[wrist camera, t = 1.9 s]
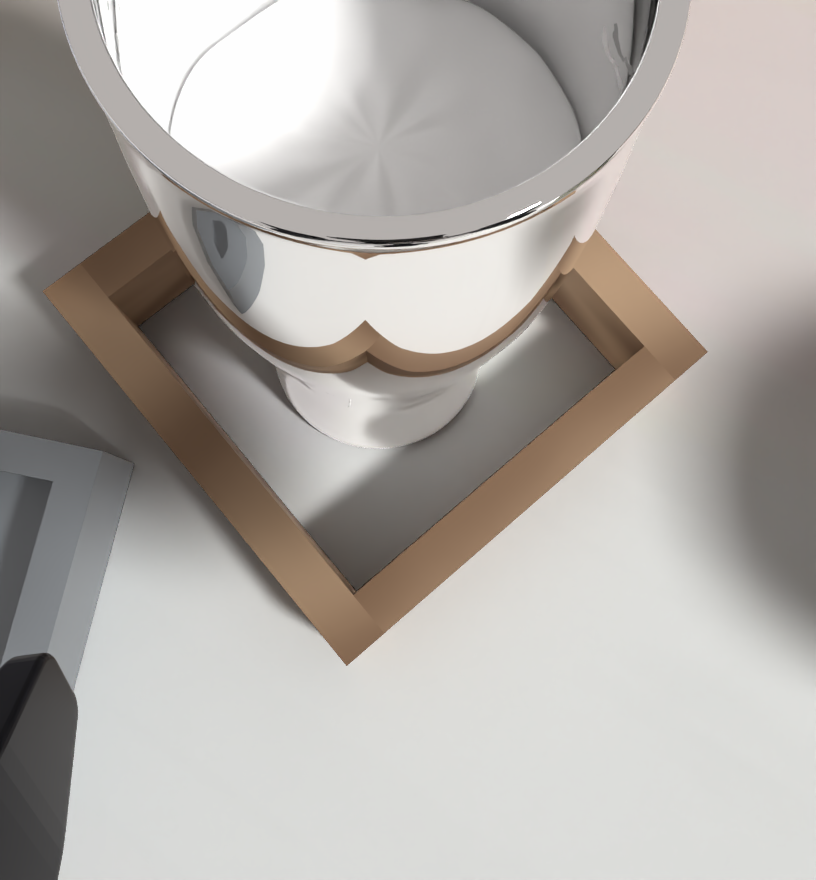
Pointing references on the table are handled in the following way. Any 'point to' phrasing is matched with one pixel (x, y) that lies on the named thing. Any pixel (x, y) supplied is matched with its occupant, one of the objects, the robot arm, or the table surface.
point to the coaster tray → (54, 543)
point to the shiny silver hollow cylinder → (376, 173)
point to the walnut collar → (264, 514)
